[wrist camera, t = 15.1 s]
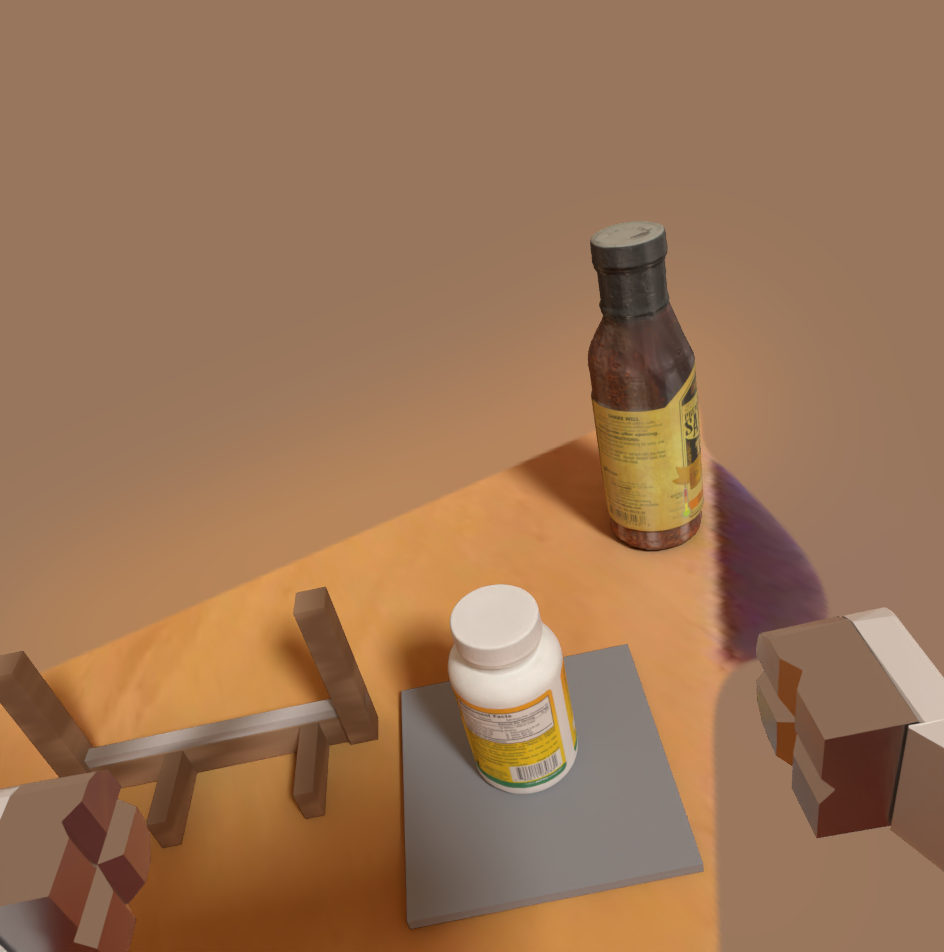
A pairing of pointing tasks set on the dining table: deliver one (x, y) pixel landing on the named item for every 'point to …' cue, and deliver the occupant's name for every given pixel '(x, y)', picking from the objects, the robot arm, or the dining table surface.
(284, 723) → the dispenser cradle
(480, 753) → the supplement bottle
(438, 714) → the grey mat
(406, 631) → the dining table surface
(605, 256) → the sauce bottle
